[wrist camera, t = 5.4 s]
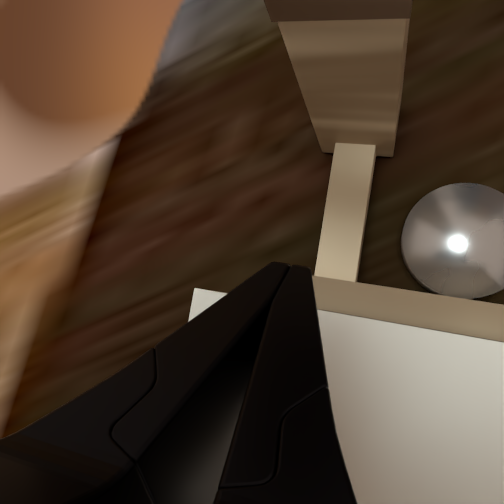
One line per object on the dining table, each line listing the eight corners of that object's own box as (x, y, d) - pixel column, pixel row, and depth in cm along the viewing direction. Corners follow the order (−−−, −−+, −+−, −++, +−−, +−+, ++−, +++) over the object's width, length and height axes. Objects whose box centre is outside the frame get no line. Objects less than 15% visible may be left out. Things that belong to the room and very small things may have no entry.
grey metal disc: (513, 307, 17) (524, 307, 15) (394, 290, 18) (395, 289, 17) (524, 197, 17) (536, 187, 16) (407, 188, 18) (409, 178, 17)
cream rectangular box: (578, 596, 15) (658, 708, 10) (201, 476, 19) (150, 522, 15) (599, 358, 15) (682, 374, 11) (233, 294, 20) (194, 287, 15)
